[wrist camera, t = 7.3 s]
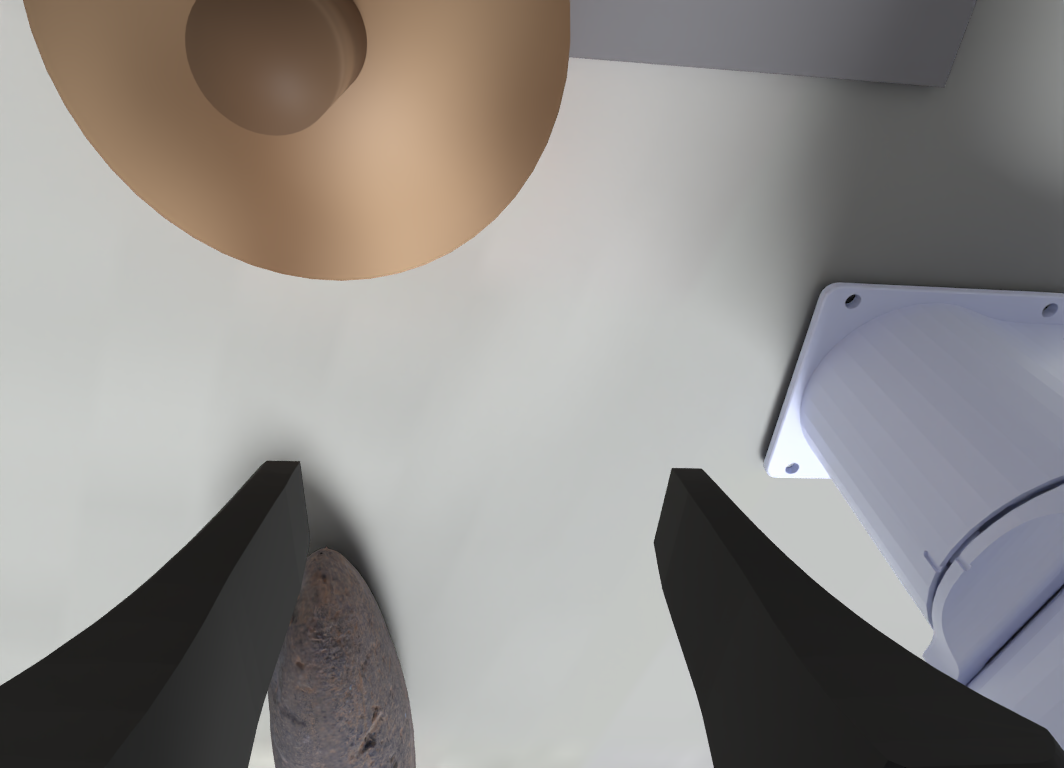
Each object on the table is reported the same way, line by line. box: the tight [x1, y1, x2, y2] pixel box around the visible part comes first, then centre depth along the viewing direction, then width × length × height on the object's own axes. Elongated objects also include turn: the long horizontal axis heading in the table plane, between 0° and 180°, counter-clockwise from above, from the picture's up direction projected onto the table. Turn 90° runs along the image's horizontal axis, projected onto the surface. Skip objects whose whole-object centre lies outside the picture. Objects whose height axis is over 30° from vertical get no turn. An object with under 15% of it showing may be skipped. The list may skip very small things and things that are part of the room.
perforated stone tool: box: [268, 546, 416, 768], centre depth 27 cm, size 15×5×7 cm, turn 178°
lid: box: [23, 0, 570, 281], centre depth 13 cm, size 11×11×4 cm
